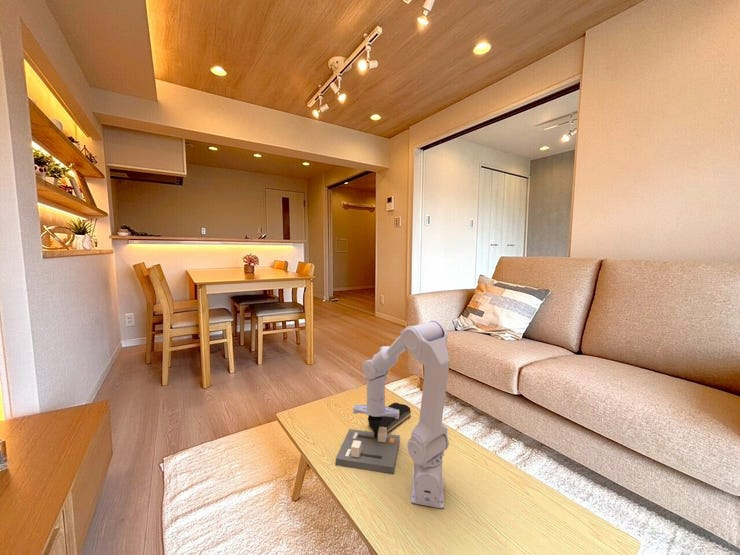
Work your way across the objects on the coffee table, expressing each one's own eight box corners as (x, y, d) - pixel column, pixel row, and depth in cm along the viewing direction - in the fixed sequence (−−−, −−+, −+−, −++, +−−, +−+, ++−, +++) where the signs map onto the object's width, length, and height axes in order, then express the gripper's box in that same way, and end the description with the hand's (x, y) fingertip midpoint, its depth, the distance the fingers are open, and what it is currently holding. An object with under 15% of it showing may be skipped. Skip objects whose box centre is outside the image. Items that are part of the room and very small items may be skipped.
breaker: (359, 457, 86) (358, 448, 86) (351, 456, 87) (351, 446, 86) (361, 450, 89) (361, 441, 89) (354, 449, 90) (353, 440, 89)
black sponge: (384, 438, 98) (384, 427, 98) (366, 427, 104) (366, 417, 104) (412, 416, 110) (412, 407, 110) (394, 408, 116) (395, 399, 115)
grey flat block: (393, 474, 83) (393, 467, 82) (335, 464, 86) (335, 458, 86) (399, 441, 96) (399, 435, 96) (349, 434, 100) (349, 428, 100)
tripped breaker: (385, 442, 92) (385, 433, 92) (377, 441, 93) (377, 432, 93) (387, 436, 95) (386, 427, 95) (379, 435, 96) (379, 426, 96)
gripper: (400, 391, 95) (400, 430, 97) (356, 387, 98) (357, 425, 100) (397, 403, 88) (397, 445, 90) (350, 398, 92) (351, 438, 93)
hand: (376, 435), depth 95 cm, fingers closed
